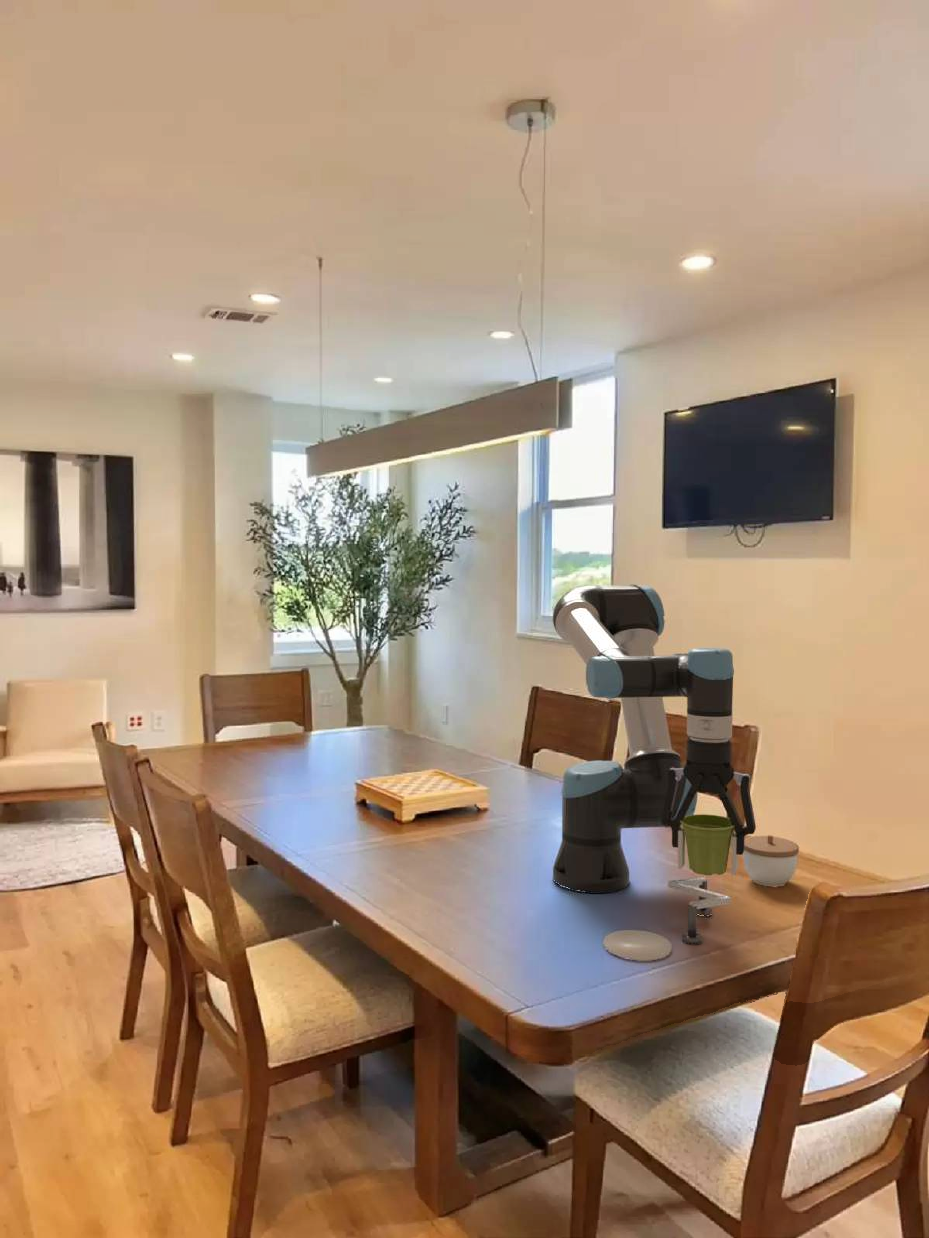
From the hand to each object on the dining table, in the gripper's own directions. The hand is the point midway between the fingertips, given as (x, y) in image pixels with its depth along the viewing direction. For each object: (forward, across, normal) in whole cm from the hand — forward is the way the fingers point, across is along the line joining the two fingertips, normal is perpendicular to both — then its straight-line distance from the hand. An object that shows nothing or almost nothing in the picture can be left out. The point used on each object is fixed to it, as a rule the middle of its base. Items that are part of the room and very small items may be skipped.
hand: (707, 868), depth 157 cm
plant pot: (0, 0, 0) cm, 0 cm away
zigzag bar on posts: (+10, -2, 0) cm, 11 cm away
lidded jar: (+11, +8, +29) cm, 32 cm away
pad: (+11, -10, -12) cm, 19 cm away
